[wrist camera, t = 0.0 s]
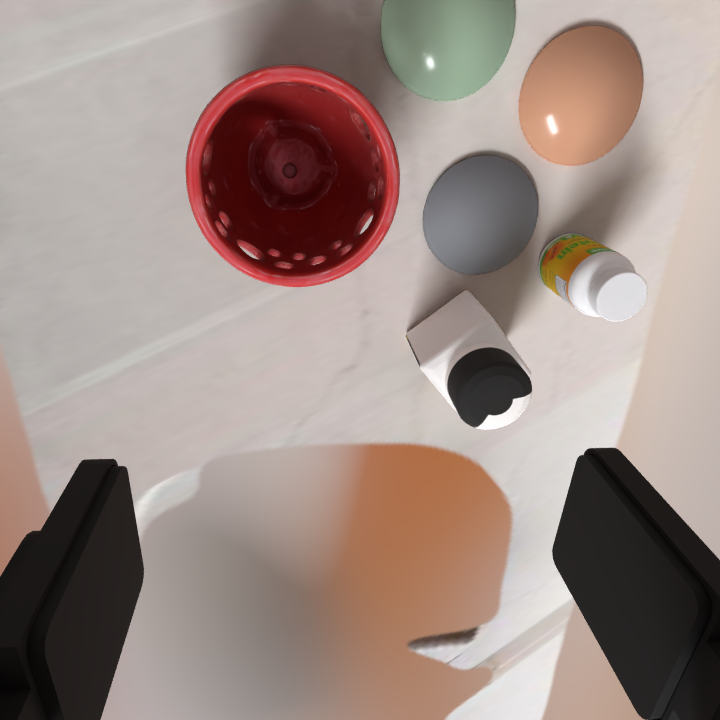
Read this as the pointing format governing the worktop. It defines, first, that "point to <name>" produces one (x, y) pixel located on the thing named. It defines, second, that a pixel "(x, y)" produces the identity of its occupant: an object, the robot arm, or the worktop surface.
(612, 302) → the supplement bottle
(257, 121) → the plant pot
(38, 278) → the worktop surface
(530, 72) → the peach coaster
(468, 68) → the sage green coaster
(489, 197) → the slate grey coaster
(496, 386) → the medicine bottle
